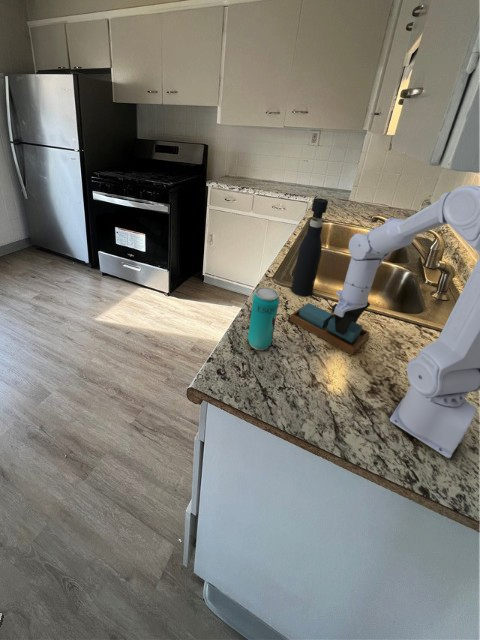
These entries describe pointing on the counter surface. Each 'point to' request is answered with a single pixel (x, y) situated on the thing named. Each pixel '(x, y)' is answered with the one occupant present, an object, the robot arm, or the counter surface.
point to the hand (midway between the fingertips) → (344, 328)
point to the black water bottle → (309, 252)
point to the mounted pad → (315, 315)
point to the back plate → (331, 334)
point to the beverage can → (263, 317)
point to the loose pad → (350, 333)
